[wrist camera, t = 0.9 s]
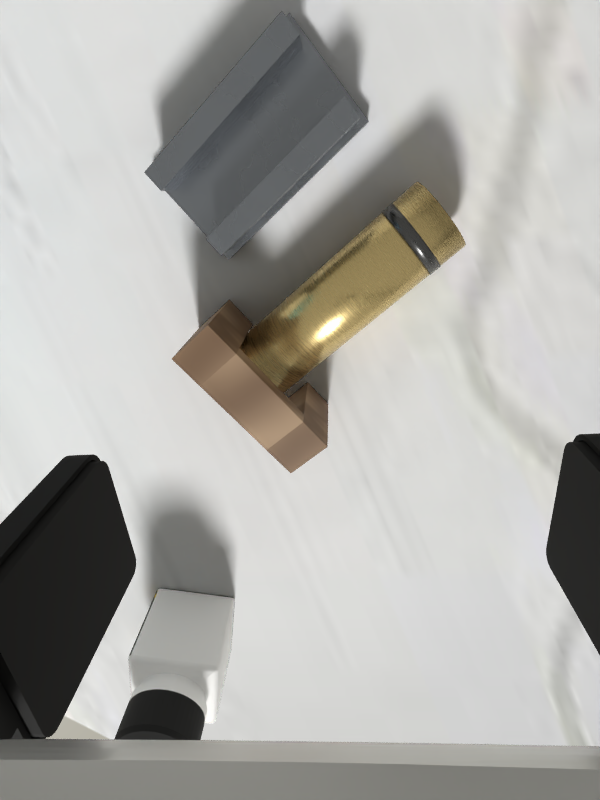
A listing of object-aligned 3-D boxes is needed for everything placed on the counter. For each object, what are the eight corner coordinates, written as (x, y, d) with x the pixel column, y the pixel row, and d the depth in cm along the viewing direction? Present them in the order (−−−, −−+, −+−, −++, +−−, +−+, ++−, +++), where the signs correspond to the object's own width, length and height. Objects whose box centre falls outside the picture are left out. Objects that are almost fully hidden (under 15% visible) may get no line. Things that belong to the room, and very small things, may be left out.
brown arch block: (328, 403, 34) (327, 446, 28) (297, 427, 35) (290, 473, 29) (229, 299, 31) (207, 325, 25) (198, 328, 32) (171, 358, 26)
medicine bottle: (157, 585, 43) (98, 724, 32) (235, 596, 42) (202, 738, 32) (159, 639, 46) (105, 782, 35) (231, 648, 46) (200, 795, 35)
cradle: (367, 122, 26) (372, 115, 23) (231, 257, 30) (219, 266, 27) (290, 17, 24) (284, -6, 21) (154, 174, 28) (133, 173, 25)
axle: (415, 190, 28) (415, 173, 24) (462, 249, 28) (469, 242, 24) (250, 337, 33) (225, 345, 28) (290, 388, 33) (271, 402, 28)
